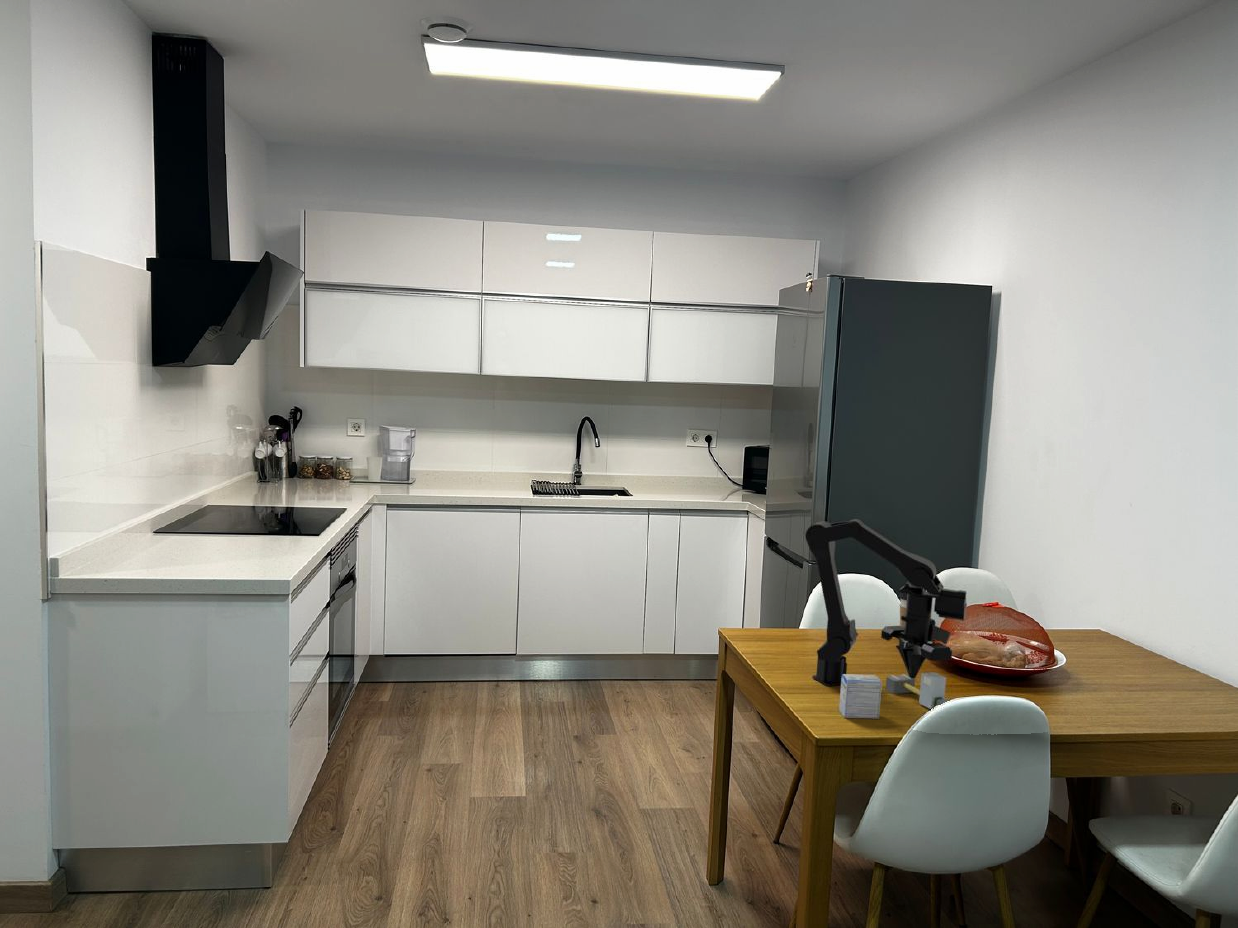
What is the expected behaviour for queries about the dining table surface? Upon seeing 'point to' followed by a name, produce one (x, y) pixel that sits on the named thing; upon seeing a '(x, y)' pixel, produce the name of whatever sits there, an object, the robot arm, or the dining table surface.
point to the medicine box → (860, 696)
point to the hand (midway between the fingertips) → (912, 677)
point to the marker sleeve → (931, 688)
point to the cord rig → (906, 686)
